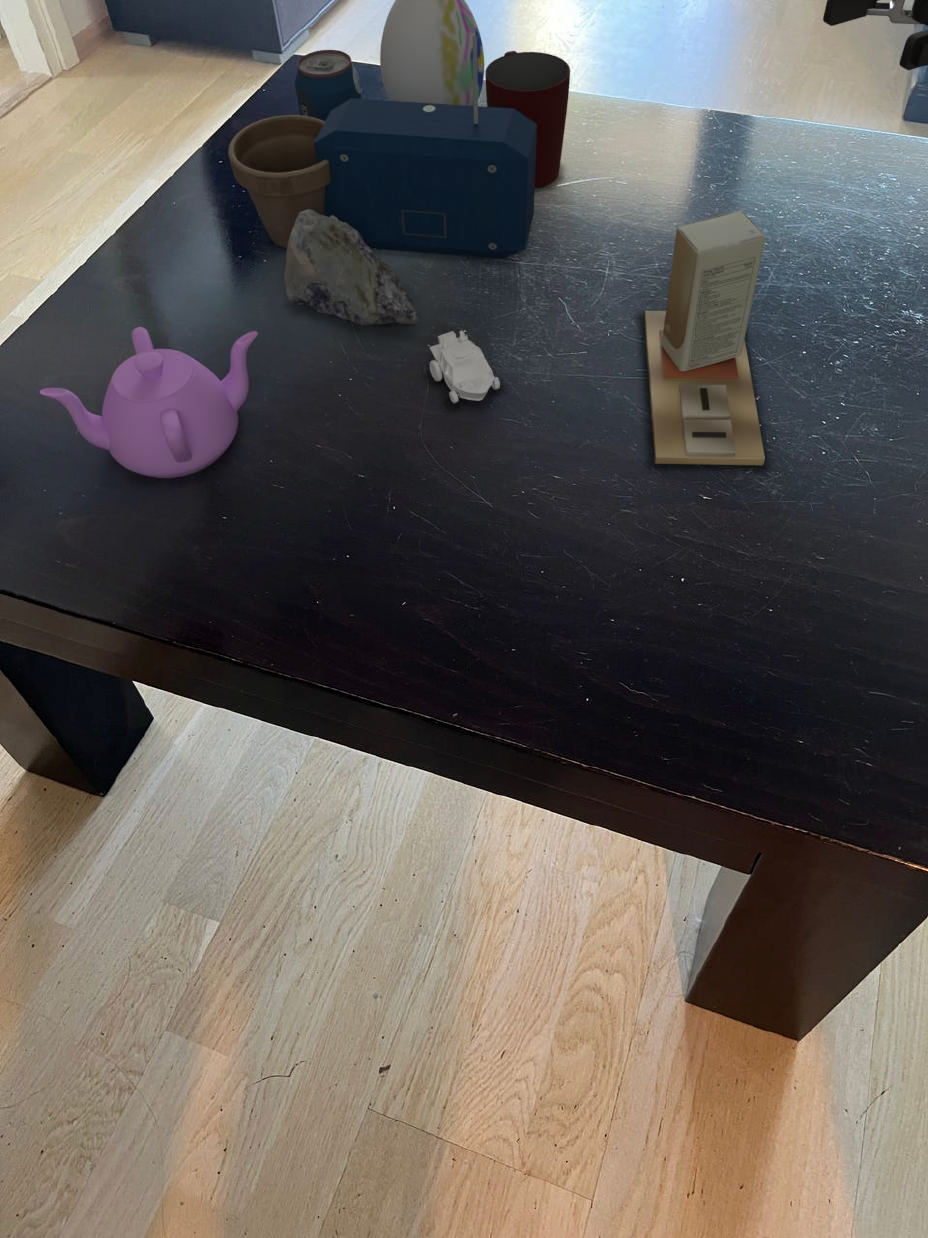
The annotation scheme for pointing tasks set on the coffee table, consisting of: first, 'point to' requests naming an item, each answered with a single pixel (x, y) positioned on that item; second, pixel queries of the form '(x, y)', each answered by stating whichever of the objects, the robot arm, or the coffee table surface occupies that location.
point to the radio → (431, 175)
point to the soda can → (325, 82)
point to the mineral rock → (342, 274)
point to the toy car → (462, 367)
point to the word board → (701, 407)
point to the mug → (534, 101)
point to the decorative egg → (430, 52)
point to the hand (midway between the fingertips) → (866, 30)
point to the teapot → (164, 409)
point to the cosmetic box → (711, 289)
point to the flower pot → (280, 170)
